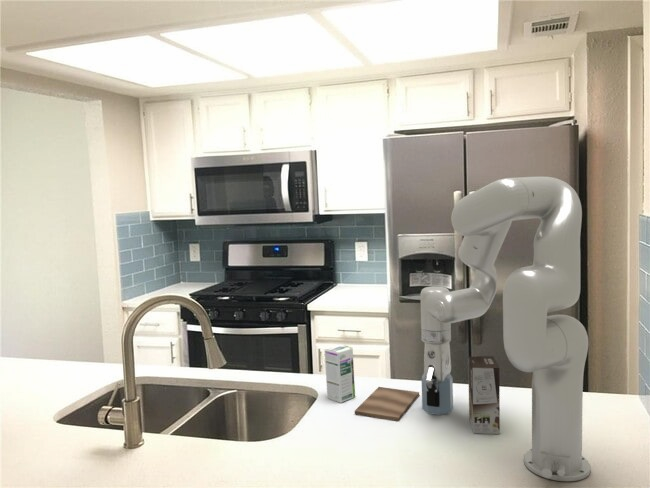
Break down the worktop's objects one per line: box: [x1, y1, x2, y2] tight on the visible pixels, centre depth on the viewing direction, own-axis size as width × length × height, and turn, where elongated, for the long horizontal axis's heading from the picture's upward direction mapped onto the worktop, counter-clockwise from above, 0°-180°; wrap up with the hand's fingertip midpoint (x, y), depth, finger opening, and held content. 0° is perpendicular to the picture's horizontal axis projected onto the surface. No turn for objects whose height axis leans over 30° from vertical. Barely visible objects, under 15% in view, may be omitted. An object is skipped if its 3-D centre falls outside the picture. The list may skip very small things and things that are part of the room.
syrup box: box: [324, 344, 356, 404], centre depth 153 cm, size 6×6×14 cm
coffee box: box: [467, 355, 501, 435], centre depth 132 cm, size 9×6×16 cm
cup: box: [421, 373, 454, 416], centre depth 144 cm, size 7×7×9 cm
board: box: [354, 386, 420, 422], centre depth 148 cm, size 18×12×1 cm, turn 154°
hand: (437, 399), depth 144 cm, fingers closed on cup, 7 cm apart
